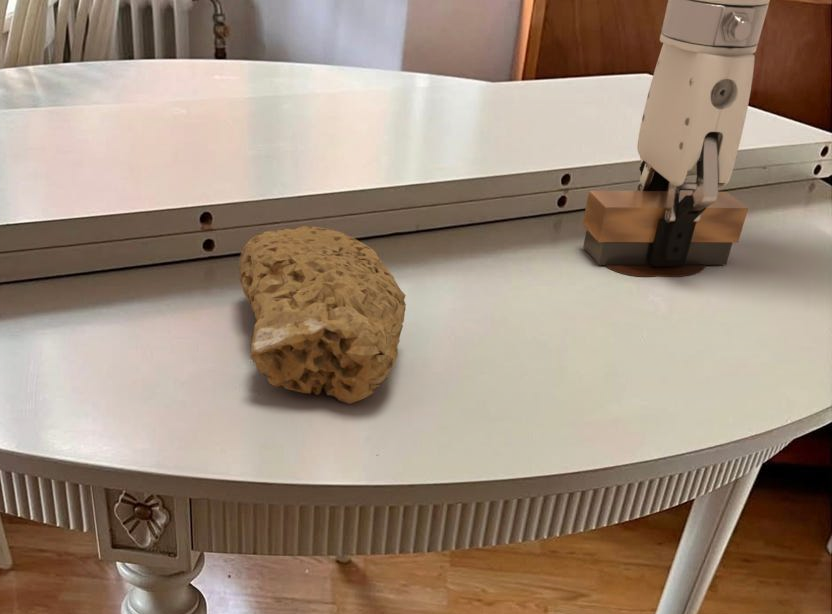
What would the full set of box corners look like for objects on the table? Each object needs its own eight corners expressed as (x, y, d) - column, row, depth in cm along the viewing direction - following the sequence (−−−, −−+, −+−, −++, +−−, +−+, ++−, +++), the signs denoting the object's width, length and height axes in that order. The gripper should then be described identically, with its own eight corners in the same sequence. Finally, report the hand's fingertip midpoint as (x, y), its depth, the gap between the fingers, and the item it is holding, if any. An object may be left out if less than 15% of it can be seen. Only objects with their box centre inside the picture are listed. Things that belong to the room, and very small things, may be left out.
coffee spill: (691, 239, 95) (691, 238, 95) (732, 276, 88) (733, 275, 88) (580, 239, 93) (580, 238, 93) (613, 277, 86) (614, 275, 86)
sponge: (403, 429, 66) (420, 260, 79) (389, 330, 60) (409, 164, 73) (214, 439, 69) (259, 273, 81) (181, 345, 63) (236, 181, 75)
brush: (711, 246, 93) (726, 191, 90) (731, 265, 90) (748, 208, 86) (577, 246, 91) (588, 190, 88) (593, 265, 88) (605, 207, 85)
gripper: (809, 49, 73) (734, 291, 84) (711, 6, 86) (658, 221, 97) (712, 46, 72) (650, 292, 83) (629, 3, 85) (585, 221, 96)
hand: (655, 252), depth 90 cm, fingers closed on brush, 4 cm apart
